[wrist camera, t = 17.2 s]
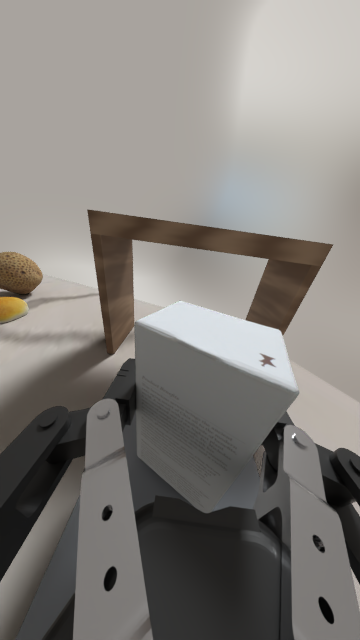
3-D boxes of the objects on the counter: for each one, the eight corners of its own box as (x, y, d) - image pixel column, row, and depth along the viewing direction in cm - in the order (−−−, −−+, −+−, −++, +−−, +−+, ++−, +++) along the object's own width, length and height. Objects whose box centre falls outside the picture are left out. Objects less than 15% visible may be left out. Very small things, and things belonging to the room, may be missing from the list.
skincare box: (222, 447, 12) (286, 330, 7) (206, 520, 9) (310, 399, 4) (164, 409, 15) (179, 298, 9) (133, 455, 11) (129, 320, 6)
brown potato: (56, 294, 39) (45, 254, 35) (11, 303, 32) (-11, 254, 27) (36, 287, 42) (23, 249, 37) (-10, 294, 34) (-33, 248, 30)
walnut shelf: (107, 353, 22) (87, 209, 14) (129, 325, 30) (125, 223, 22) (261, 375, 22) (333, 244, 14) (242, 341, 30) (280, 245, 22)
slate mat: (12, 655, 6) (6, 658, 6) (130, 386, 18) (129, 383, 17) (319, 700, 6) (328, 705, 6) (234, 401, 18) (236, 398, 17)
